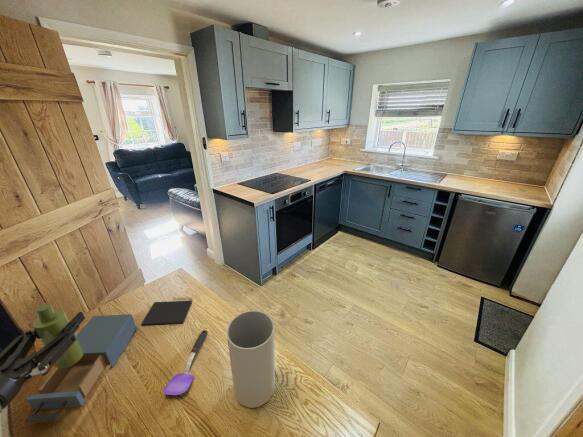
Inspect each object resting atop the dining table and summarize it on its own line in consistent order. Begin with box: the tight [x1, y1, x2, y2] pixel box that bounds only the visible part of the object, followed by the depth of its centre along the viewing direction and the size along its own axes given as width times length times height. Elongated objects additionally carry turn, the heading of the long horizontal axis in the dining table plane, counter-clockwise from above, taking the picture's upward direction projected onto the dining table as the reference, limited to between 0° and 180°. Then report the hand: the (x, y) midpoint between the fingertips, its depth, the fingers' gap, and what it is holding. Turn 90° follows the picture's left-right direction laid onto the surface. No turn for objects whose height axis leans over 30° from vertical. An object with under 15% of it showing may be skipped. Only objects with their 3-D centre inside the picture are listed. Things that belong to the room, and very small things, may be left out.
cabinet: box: [76, 313, 137, 369], centre depth 83 cm, size 16×14×8 cm
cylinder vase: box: [226, 310, 276, 409], centre depth 69 cm, size 12×12×25 cm
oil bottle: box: [32, 302, 84, 369], centre depth 66 cm, size 6×6×20 cm
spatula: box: [162, 329, 208, 396], centre depth 80 cm, size 24×7×2 cm, turn 176°
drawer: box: [25, 354, 108, 423], centre depth 70 cm, size 19×12×6 cm, turn 5°
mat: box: [140, 300, 193, 327], centre depth 99 cm, size 16×12×1 cm
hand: (69, 315), depth 70 cm, fingers closed on oil bottle, 6 cm apart
